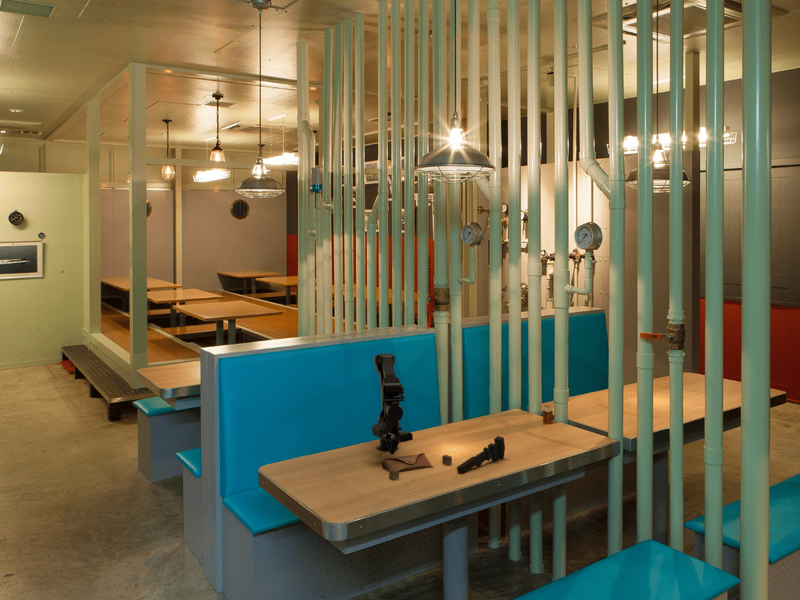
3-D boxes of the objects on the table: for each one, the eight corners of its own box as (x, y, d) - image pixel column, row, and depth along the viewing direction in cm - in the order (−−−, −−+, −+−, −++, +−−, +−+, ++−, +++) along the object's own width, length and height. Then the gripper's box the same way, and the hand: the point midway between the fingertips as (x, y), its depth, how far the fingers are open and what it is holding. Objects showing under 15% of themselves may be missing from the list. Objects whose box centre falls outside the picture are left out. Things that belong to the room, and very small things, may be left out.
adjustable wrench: (458, 484, 235) (500, 456, 252) (464, 486, 233) (506, 457, 250) (455, 463, 233) (498, 436, 250) (461, 465, 232) (503, 437, 248)
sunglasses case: (391, 474, 232) (387, 456, 234) (384, 479, 237) (380, 461, 240) (435, 466, 240) (431, 449, 243) (427, 471, 246) (423, 454, 248)
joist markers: (389, 478, 228) (389, 469, 228) (446, 462, 245) (446, 454, 245) (394, 480, 226) (394, 472, 226) (451, 464, 243) (451, 456, 242)
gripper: (360, 412, 249) (360, 452, 251) (389, 422, 235) (389, 465, 236) (383, 408, 256) (383, 447, 257) (413, 417, 242) (413, 459, 243)
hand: (391, 454), depth 248 cm, fingers closed
